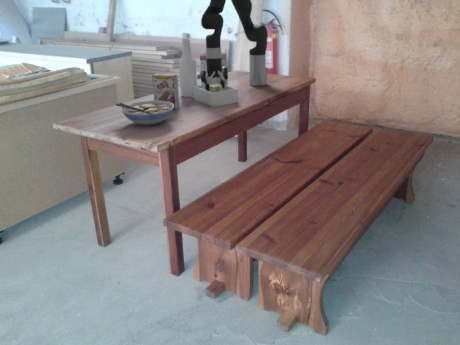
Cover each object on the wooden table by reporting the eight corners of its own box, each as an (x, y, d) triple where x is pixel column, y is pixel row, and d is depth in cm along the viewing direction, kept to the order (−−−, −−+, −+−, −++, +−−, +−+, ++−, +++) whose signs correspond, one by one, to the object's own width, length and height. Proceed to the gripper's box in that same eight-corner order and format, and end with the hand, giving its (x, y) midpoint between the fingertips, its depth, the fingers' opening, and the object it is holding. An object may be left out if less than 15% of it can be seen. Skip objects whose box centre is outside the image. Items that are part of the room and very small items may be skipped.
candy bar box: (154, 109, 220) (151, 75, 213) (159, 106, 224) (156, 73, 218) (175, 110, 216) (173, 76, 210) (179, 108, 221) (177, 74, 214)
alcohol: (182, 93, 248) (178, 37, 237) (198, 93, 247) (195, 36, 236) (179, 97, 240) (175, 39, 228) (196, 97, 239) (192, 38, 228)
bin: (218, 95, 242) (217, 82, 240) (237, 102, 228) (237, 88, 225) (193, 99, 235) (192, 86, 232) (212, 107, 220) (211, 92, 218)
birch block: (217, 97, 234) (216, 84, 231) (222, 99, 230) (221, 85, 228) (208, 98, 232) (208, 85, 229) (213, 100, 228) (213, 87, 225)
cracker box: (228, 90, 254) (227, 51, 246) (226, 92, 248) (225, 53, 240) (203, 90, 255) (201, 52, 247) (201, 92, 250) (199, 53, 241)
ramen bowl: (188, 122, 197) (186, 104, 194) (144, 135, 182) (142, 115, 179) (154, 112, 214) (152, 95, 210) (111, 123, 199) (108, 105, 196)
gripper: (222, 54, 229) (223, 86, 235) (197, 57, 222) (199, 90, 229) (230, 56, 223) (231, 88, 230) (205, 59, 216) (206, 93, 223)
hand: (215, 89), depth 229 cm, fingers open, 8 cm apart
